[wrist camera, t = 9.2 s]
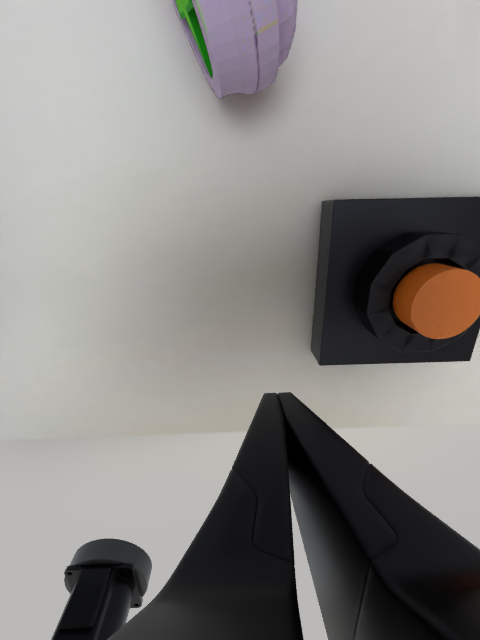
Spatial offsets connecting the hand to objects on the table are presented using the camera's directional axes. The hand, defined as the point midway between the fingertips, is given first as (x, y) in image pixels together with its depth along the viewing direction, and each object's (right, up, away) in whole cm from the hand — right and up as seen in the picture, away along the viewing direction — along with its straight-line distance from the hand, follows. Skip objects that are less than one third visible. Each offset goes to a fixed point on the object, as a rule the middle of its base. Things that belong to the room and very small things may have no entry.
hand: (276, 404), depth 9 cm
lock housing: (+9, +5, +10) cm, 14 cm away
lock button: (+9, +4, +7) cm, 12 cm away
